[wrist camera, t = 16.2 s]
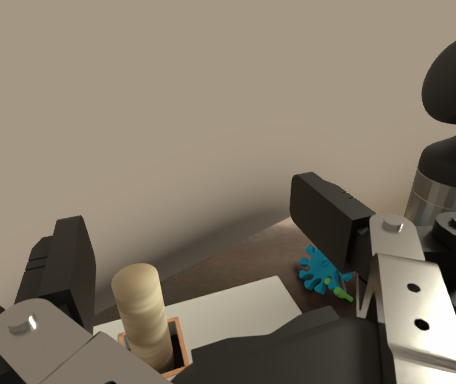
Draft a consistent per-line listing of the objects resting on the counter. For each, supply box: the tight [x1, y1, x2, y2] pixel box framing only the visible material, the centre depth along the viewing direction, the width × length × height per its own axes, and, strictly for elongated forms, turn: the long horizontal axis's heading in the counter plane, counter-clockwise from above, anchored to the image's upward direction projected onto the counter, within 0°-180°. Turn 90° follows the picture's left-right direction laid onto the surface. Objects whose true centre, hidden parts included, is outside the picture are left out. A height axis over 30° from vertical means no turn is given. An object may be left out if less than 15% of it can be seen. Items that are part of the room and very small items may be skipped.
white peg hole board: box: [93, 276, 302, 381], centre depth 39 cm, size 26×12×3 cm, turn 109°
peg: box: [111, 263, 175, 374], centre depth 35 cm, size 4×4×14 cm
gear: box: [299, 245, 353, 302], centre depth 48 cm, size 11×6×10 cm
